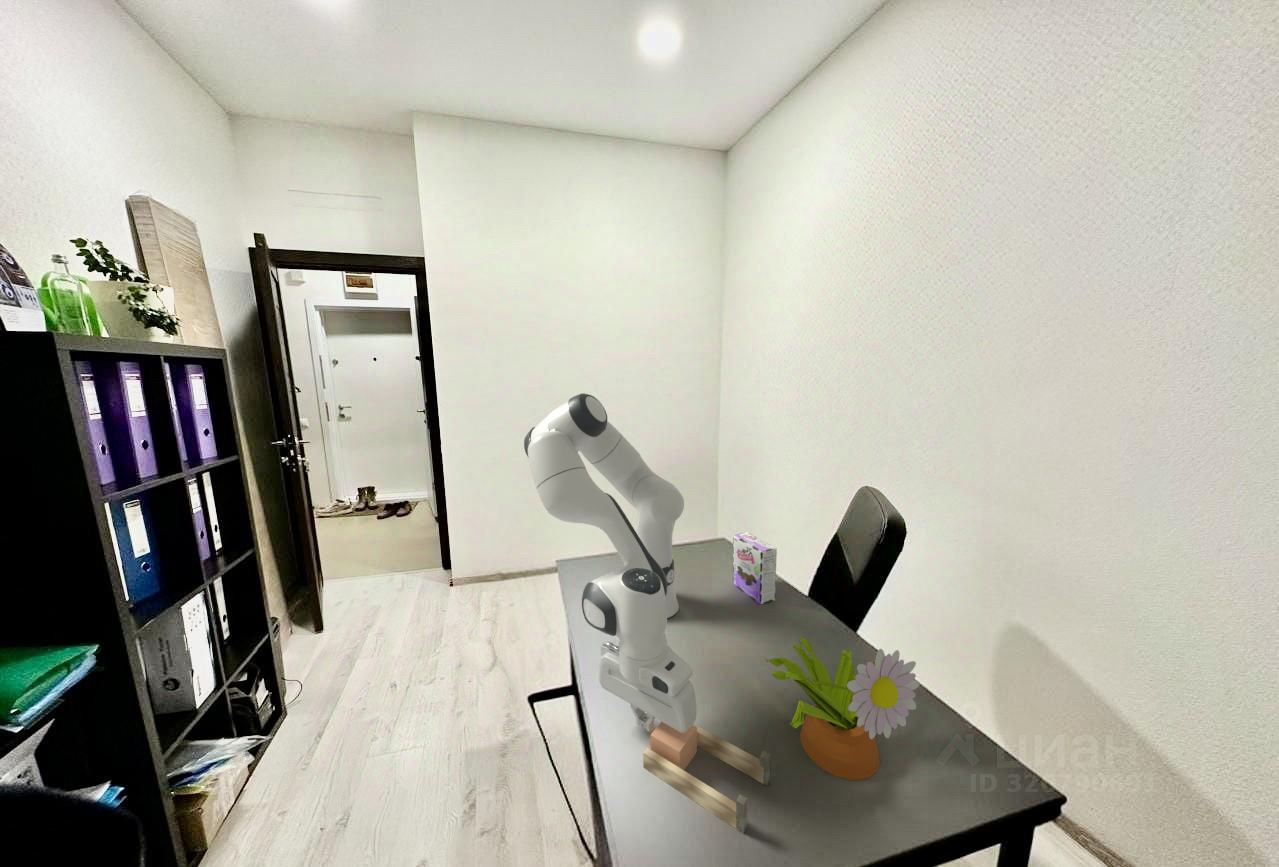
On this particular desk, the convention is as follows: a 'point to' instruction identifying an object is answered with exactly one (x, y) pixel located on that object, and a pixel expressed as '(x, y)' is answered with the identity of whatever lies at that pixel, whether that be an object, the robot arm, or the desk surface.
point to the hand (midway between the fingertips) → (645, 726)
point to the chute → (704, 793)
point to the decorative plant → (850, 708)
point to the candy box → (754, 567)
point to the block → (674, 744)
